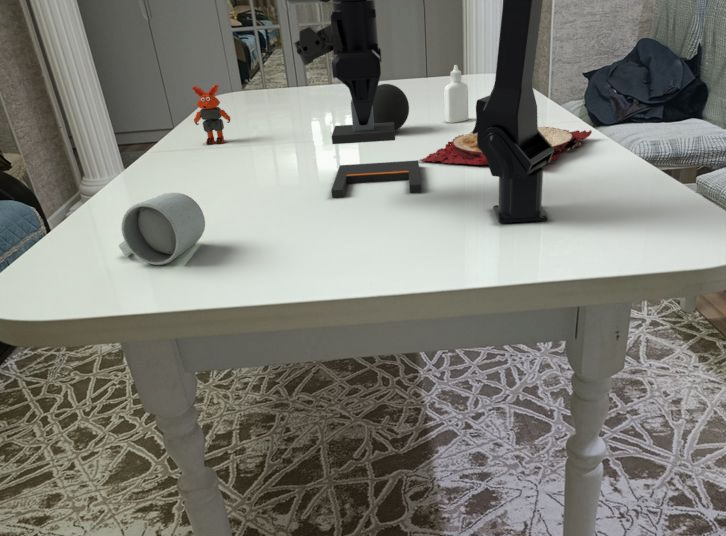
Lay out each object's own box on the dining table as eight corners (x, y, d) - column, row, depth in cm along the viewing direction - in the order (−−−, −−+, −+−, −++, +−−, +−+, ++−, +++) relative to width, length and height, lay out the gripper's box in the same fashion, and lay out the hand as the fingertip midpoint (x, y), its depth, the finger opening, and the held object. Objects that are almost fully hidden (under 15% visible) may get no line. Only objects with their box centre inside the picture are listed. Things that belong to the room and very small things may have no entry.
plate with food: (592, 141, 123) (593, 122, 122) (543, 170, 104) (544, 148, 103) (480, 136, 135) (480, 119, 133) (419, 161, 116) (418, 141, 115)
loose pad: (395, 140, 91) (392, 101, 88) (332, 144, 91) (328, 105, 88) (394, 130, 97) (392, 93, 95) (335, 133, 97) (332, 97, 95)
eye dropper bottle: (443, 120, 150) (442, 64, 144) (467, 118, 150) (467, 63, 144) (445, 123, 147) (444, 67, 141) (470, 121, 147) (469, 65, 141)
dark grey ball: (406, 136, 137) (404, 86, 132) (361, 137, 139) (357, 88, 134) (413, 126, 145) (410, 79, 140) (370, 128, 147) (366, 81, 142)
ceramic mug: (214, 242, 85) (201, 184, 81) (185, 265, 78) (168, 204, 74) (143, 242, 87) (127, 187, 83) (108, 265, 80) (89, 206, 76)
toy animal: (194, 147, 141) (182, 89, 135) (200, 142, 145) (188, 85, 140) (230, 144, 141) (219, 86, 135) (235, 139, 145) (224, 83, 140)
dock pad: (421, 192, 99) (420, 184, 99) (332, 197, 100) (331, 189, 99) (418, 167, 113) (418, 159, 112) (340, 172, 114) (339, 164, 113)
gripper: (301, 3, 93) (315, 115, 101) (284, 7, 77) (301, 139, 85) (377, -2, 93) (384, 110, 101) (375, 1, 77) (384, 134, 85)
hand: (363, 122), depth 93 cm, fingers closed on loose pad, 3 cm apart
